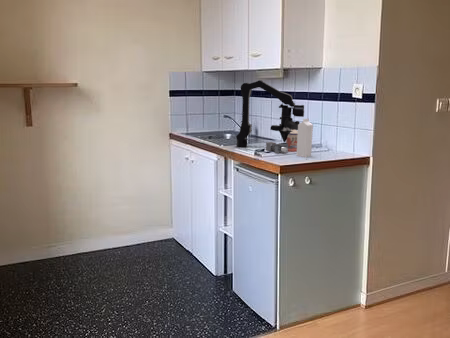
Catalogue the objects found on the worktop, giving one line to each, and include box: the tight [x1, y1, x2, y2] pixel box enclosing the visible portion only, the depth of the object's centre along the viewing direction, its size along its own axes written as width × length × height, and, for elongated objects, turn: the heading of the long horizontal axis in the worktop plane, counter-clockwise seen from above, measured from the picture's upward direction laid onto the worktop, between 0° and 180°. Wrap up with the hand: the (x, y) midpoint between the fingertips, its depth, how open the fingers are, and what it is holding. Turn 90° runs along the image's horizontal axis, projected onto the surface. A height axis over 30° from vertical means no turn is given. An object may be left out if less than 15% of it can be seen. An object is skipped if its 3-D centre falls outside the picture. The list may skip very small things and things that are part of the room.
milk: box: [296, 118, 314, 160], centre depth 256 cm, size 6×6×22 cm
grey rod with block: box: [265, 141, 288, 152], centre depth 268 cm, size 15×4×4 cm, turn 36°
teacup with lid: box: [286, 129, 298, 147], centre depth 296 cm, size 12×9×12 cm
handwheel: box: [285, 137, 297, 153], centre depth 274 cm, size 12×9×7 cm
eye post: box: [274, 142, 289, 155], centre depth 265 cm, size 2×8×5 cm, turn 126°
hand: (284, 142), depth 277 cm, fingers closed
